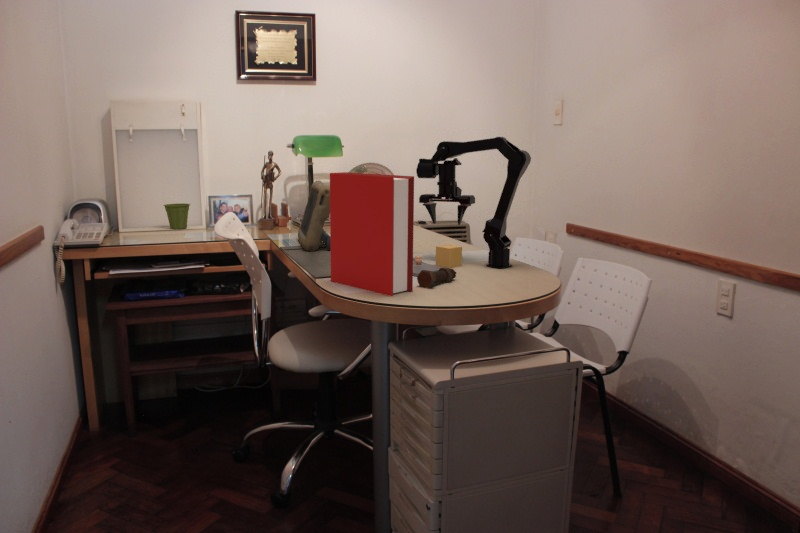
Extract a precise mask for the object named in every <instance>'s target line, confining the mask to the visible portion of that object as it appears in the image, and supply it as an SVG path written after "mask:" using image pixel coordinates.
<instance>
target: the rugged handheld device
mask: <svg viewBox="0 0 800 533" xmlns="http://www.w3.org/2000/svg"><path fill="white" fill-rule="evenodd" d="M327 219H330V184H324V183H323V182H322V180H315V181H314V182H312V185H311V186H310V188H309V193H308V197H307V203H306V205H305V208H304V212H303V215H302V219H301V221H300V226H299V228H298V231H297V240H298V241H299V242H298V243H299V244H300V245H301V246H302V248H303V249H304V251H309V252H310V253H311V252H314V251H315V252H316V251H317V250H318V249H320V245H321V243H323V244H324V246H325V249H326V250H327V251H330V252H331V241H330V234H328V232H327V231H326V230H325V229H324V225H325V221H326V220H327Z"/></svg>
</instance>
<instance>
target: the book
mask: <svg viewBox="0 0 800 533" xmlns="http://www.w3.org/2000/svg"><path fill="white" fill-rule="evenodd" d="M329 186H330V215H329V220H330V221H329V222H330V224H329V225H330V226H329V227H330V232H329V233H330V234H329V236H330V241H331V251H330V281H331V283H336V284H341V285H344V286H348V287H352V288H355V289H356V288H357V289H360V290H366V291H368V290H369V291H368V292H374V293H378V294H382V295H385V296H389V297H393V295H394V294H397V293H402V292H405V291H409V292H413V285H414V284H413V283H414V282H413V281H414V280H413V279H414V278H413V277H414V276H413V263H414V222H415V221H414V216H415V214H414V212H415V211H414V210H415V209H414V207H415V206H414V205H415V176H411V175H399V174H398V175H397V174H396V175H395V174H383V173H382V174H381V173H366V172H364V173H363V172H348V171H347V172H346V171H344V172H329Z"/></svg>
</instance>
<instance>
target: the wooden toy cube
mask: <svg viewBox="0 0 800 533" xmlns="http://www.w3.org/2000/svg"><path fill="white" fill-rule="evenodd" d="M462 260H463V246H458V245H453V244H444V245H436V246H435V265H436V266H441V267H446V268H449V269H453V268H455V267H462V264H463V263H462V262H463V261H462Z"/></svg>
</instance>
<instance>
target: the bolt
mask: <svg viewBox="0 0 800 533" xmlns="http://www.w3.org/2000/svg"><path fill="white" fill-rule="evenodd" d="M441 267H442V266H441ZM456 277H457V271H455V269H453V268H443V267H442V268H440V269H439V270H438V271H437V272H432V271H428V270H421V272H420V273H419V275H418V277H417V278H416V279H417V284H418V285H419V287H420V288H423V289H432V288H433V287H434V285H435V284H436V283H439V282H440V283H444V282H446V283H445V284H447V282H448V283H450V282H451V281H452V280H454V279H455V278H456Z"/></svg>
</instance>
